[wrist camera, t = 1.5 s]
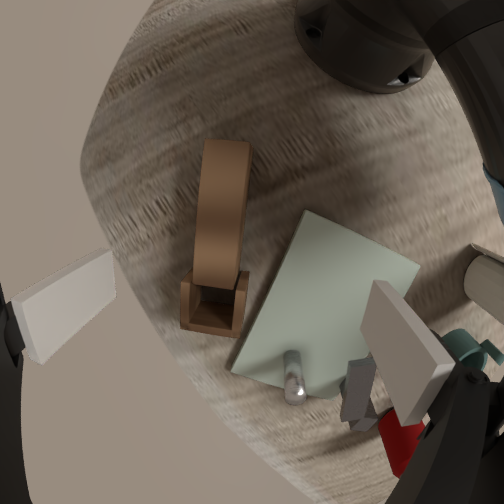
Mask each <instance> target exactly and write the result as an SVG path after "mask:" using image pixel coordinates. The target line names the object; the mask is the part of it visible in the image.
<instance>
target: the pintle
mask: <svg viewBox="0 0 504 504" xmlns="http://www.w3.org/2000/svg"><path fill="white" fill-rule="evenodd" d="M283 364H284V385H285V401H286V402H287V403H288V404H290V405H299V404H302V403H304V402H305V401H306V399H307V395H306V388H305V380H304V373H303V366H302V359H301V354H300V352H299V351H297V350H288V351H286V352H285V353H284V355H283Z"/></svg>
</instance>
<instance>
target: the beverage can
mask: <svg viewBox="0 0 504 504" xmlns="http://www.w3.org/2000/svg"><path fill="white" fill-rule="evenodd" d="M424 428H425V425H424V423H423V421H422V420H421V422H420V423H419V424H415V425H408V426H402V427H401V424H400V422H399V419H398V416H397V414H396V411H395V409H392V410H391V411H389V412H388V413H387V414H386V415H385V416H384V417H383V418H382V419H381V420H380V422H379V424H378V429H379V432H380V435H381V438H382V441H383V444H384V447H385V450H386V453H387V457H388V460H389V463H390V466H391V469H392V472H393V474H394V475H395V476H396V477H398V478H399V479H400V478H401V476H402V474H403V472H404V471H405V469H406V467H407V465H408V463H409V461H410V459H411V457H412V455H413V453H414V451H415V449H416V447H417V445H418V443H419V441H420V439H419V440H417V439H416V438H417V437H418V436H419V435H420V433H421V432H422V431H423V429H424Z"/></svg>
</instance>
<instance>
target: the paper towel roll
mask: <svg viewBox="0 0 504 504" xmlns="http://www.w3.org/2000/svg"><path fill="white" fill-rule="evenodd" d="M472 245H473V246H474V247H475V248H476V249H477V250H478V251H481V252H483V253H485V254H486V255H481V256H478V257H477V258H475V259H474V260H473V261H472V262H471V264H470V265H469V267H468V269H467V271H466V274H465V278H464V290H465V293H466V294H467V296H468V297H469V298H470V299H471V300H473V301H474V302H475V303H476V304H478V305H479V306H480V307H482V308H483V309H484V310H485V311H487V312H488V313H489V314H491V315H492V316H493V317H494V318H495V319H497V320H498V321H499V322H500V323H502V324H503V325H504V257H502V256H500V255H498V254H495V253H493V252H491V251H489V250H487V249H485V248H482V247H480V246H478V245H476V244H473V243H472Z"/></svg>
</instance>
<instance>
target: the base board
mask: <svg viewBox="0 0 504 504" xmlns="http://www.w3.org/2000/svg"><path fill="white" fill-rule="evenodd" d="M419 268H420V265H419V264H417V263H416V262H414V261H412V260H410V259H408V258H406V257H404V256H403V255H401V254H399V253H397V252H395V251H393V250H391V249H389V248H387V247H385V246H383V245H381V244H379V243H377V242H375V241H373V240H371V239H369V238H367V237H365V236H363V235H361V234H358V233H356V232H354V231H352V230H350V229H348V228H346V227H344V226H342V225H339V224H337V223H335V222H333V221H331V220H329V219H326V218H324V217H322V216H320V215H317V214H315V213H313V212H311V211H308V210H306V209H304V212H303V214H302V216H301V218H300V221H299V223H298V225H297V228H296V230H295V232H294V234H293V237H292V239H291V241H290V243H289V246H288V248H287V250H286V252H285V254H284V257H283V259H282V261H281V263H280V266H279V268H278V270H277V272H276V274H275V276H274V279H273V281H272V283H271V285H270V287H269V289H268V292H267V294H266V296H265V298H264V300H263V302H262V304H261V307H260V309H259V311H258V313H257V315H256V317H255V319H254V321H253V323H252V325H251V328H250V330H249V332H248V334H247V336H246V338H245V340H244V342H243V344H242V346H241V348H240V350H239V352H238V354H237V356H236V358H235V360H234V362H233V364H232V367H231V372H232V373H235V374H238V375H241V376H244V377H247V378H250V379H253V380H256V381H260V382H263V383H266V384H269V385H273V386H276V387H280V388H283V389H285V385H284V364H283V355H284V353H285V352H286V351H288V350H297V351H299V352H300V354H301V359H302V366H303V373H304V380H305V388H306V395H310V396H314V397H318V398H322V399H327V400H331V401H333V400H334V399H335V398H336V397H337V396H338V394H339V393H340V388H339V385H340V384H341V383H342V381H343V380H344V379H345V377H346V374H347V367H348V361H350V360H357V359H364V358H366V357H367V356H368V354H369V353H370V350H369V348H368V345H367V343H366V341H365V339H364V337H363V335H362V332H361V330H360V326H361V323H362V320H363V316H364V313H365V309H366V306H367V302H368V298H369V294H370V291H371V287H372V283H373V280H384V281H388V282H389V284H390V285H391V286H392V287H393V288H394V289H395V290H396V291H397V292H398V294H399V295H400V296H401V297H402V298H404V296H405V295H406V293H407V291H408V289H409V287H410V286H411V284H412V282H413V280H414V278H415V276H416V274H417V272H418V270H419Z"/></svg>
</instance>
